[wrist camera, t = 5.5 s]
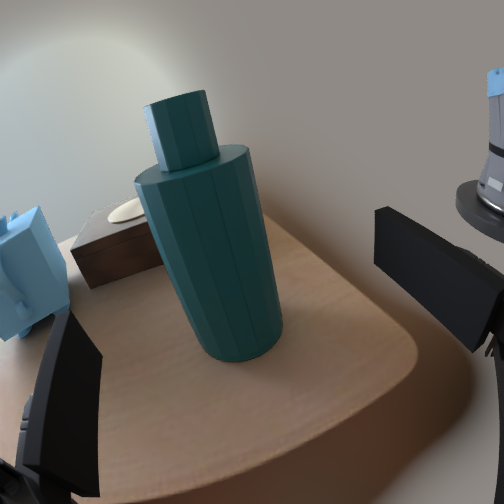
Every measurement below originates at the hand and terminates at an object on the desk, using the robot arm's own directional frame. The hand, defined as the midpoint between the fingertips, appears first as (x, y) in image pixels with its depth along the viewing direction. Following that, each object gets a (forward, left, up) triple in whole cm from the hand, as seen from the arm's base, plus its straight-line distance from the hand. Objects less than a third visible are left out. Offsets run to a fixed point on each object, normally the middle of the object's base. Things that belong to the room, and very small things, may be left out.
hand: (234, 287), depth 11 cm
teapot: (+26, -25, -11) cm, 37 cm away
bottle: (0, -9, -11) cm, 14 cm away
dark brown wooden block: (+8, -31, -10) cm, 33 cm away
